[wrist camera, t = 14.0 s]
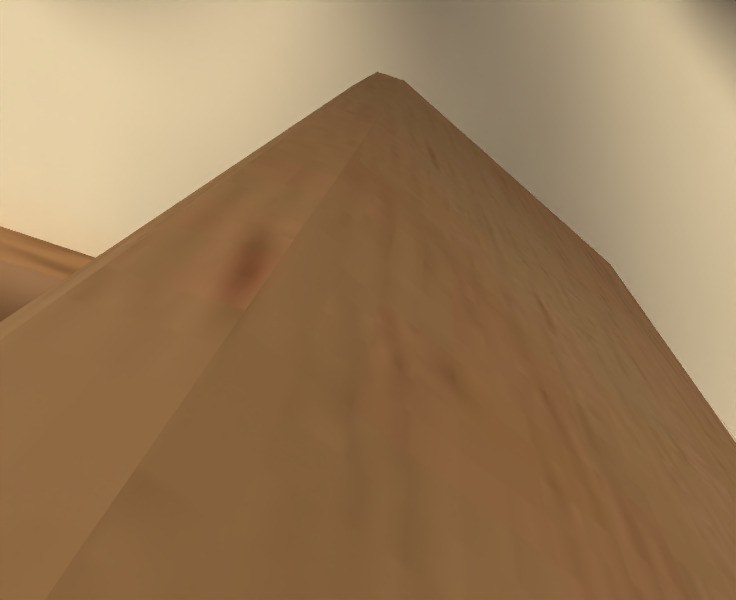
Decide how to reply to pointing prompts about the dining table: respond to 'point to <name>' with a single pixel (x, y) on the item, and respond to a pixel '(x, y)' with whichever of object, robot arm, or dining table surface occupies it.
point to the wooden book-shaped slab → (31, 268)
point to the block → (356, 394)
